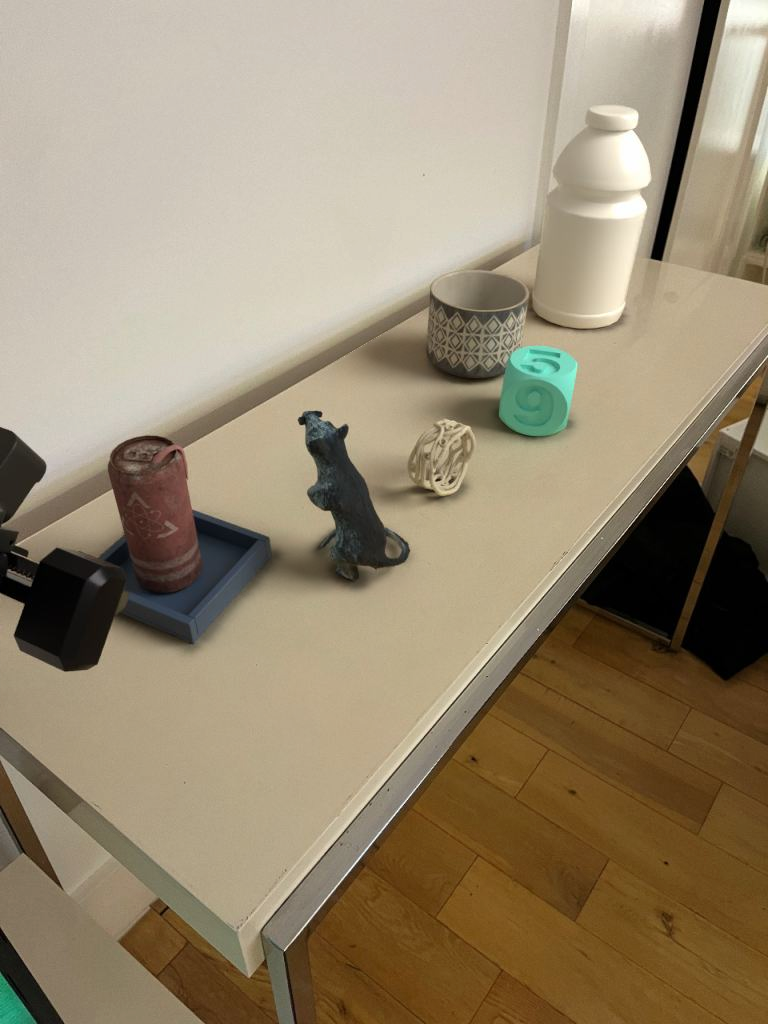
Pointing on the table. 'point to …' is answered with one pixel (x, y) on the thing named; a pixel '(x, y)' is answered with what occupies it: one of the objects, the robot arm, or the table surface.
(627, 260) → the bottle
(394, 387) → the table surface
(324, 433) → the sculpture
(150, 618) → the blue tray
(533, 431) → the decorative dice
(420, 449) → the bracelet
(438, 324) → the planter
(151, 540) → the can
